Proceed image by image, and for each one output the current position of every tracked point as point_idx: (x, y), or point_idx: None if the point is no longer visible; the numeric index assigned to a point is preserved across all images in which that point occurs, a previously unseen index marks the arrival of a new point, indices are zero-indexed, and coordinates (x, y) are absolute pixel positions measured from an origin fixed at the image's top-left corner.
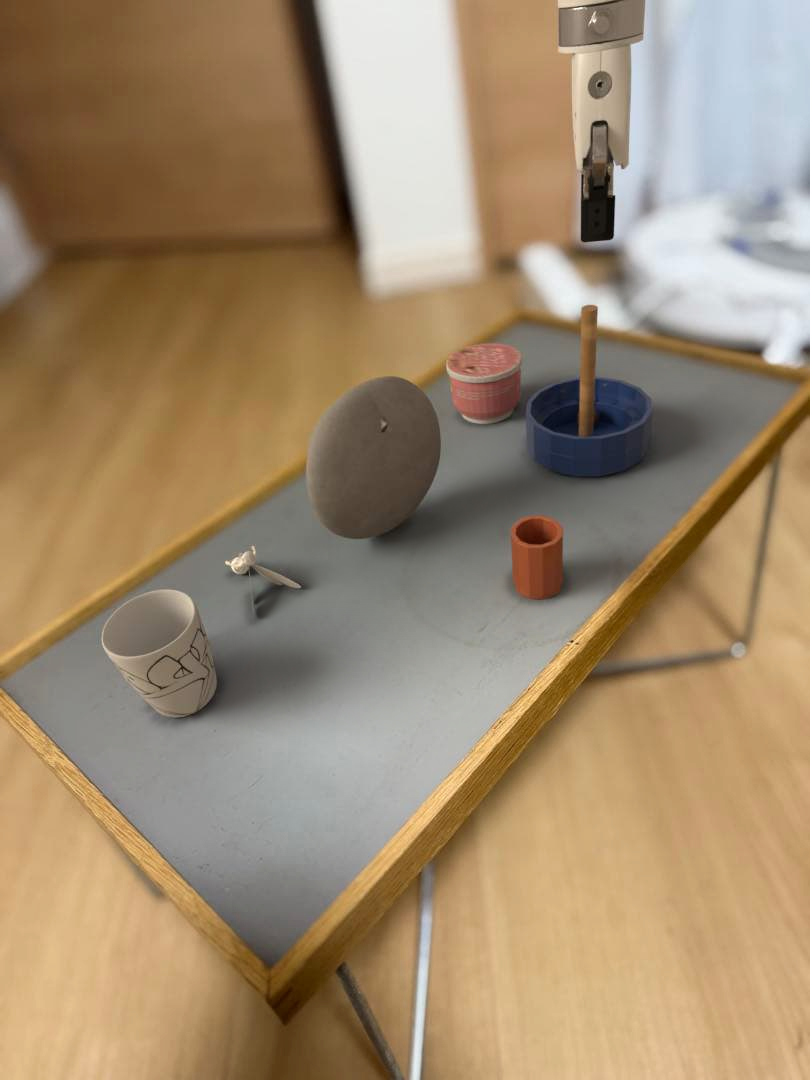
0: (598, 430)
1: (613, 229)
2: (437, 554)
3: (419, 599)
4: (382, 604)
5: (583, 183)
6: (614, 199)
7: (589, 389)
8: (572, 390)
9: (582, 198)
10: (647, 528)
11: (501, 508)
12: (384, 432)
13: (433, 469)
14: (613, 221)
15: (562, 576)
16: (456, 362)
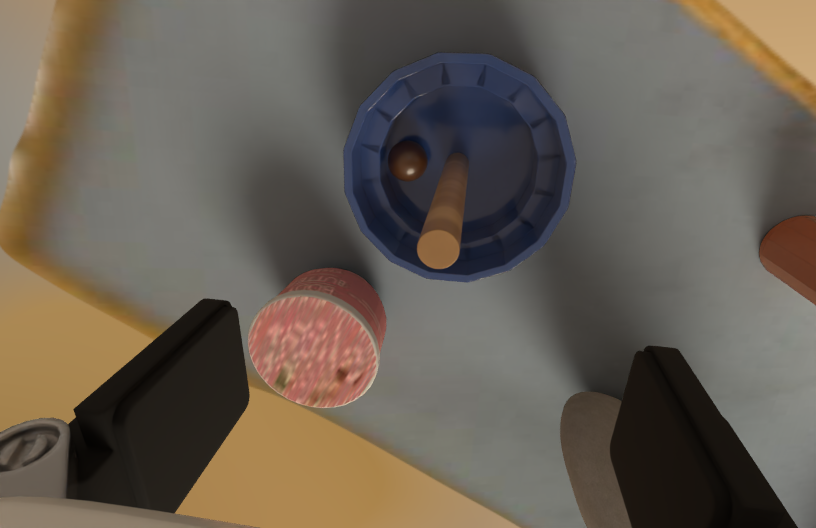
0: (421, 140)
1: (688, 371)
2: (695, 363)
3: (782, 380)
4: (778, 416)
5: (176, 501)
6: (767, 497)
7: (465, 187)
8: (360, 194)
9: (218, 448)
10: (709, 79)
11: (608, 288)
12: None
13: (616, 410)
14: (707, 400)
15: (810, 217)
16: (321, 394)
